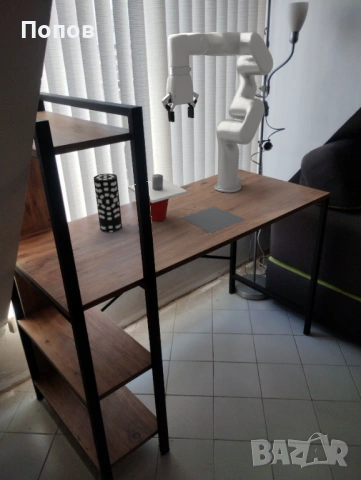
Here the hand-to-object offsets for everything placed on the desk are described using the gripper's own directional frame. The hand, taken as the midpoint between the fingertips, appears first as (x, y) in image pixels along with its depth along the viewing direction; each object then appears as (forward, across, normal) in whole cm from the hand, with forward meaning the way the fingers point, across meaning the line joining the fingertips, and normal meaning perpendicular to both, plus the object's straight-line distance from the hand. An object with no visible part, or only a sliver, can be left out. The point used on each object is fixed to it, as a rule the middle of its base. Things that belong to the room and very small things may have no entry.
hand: (181, 119), depth 150 cm
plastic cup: (+35, +18, +6) cm, 40 cm away
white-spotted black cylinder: (+35, +36, -1) cm, 50 cm away
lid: (+23, +18, +6) cm, 30 cm away
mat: (+35, +2, +20) cm, 41 cm away
